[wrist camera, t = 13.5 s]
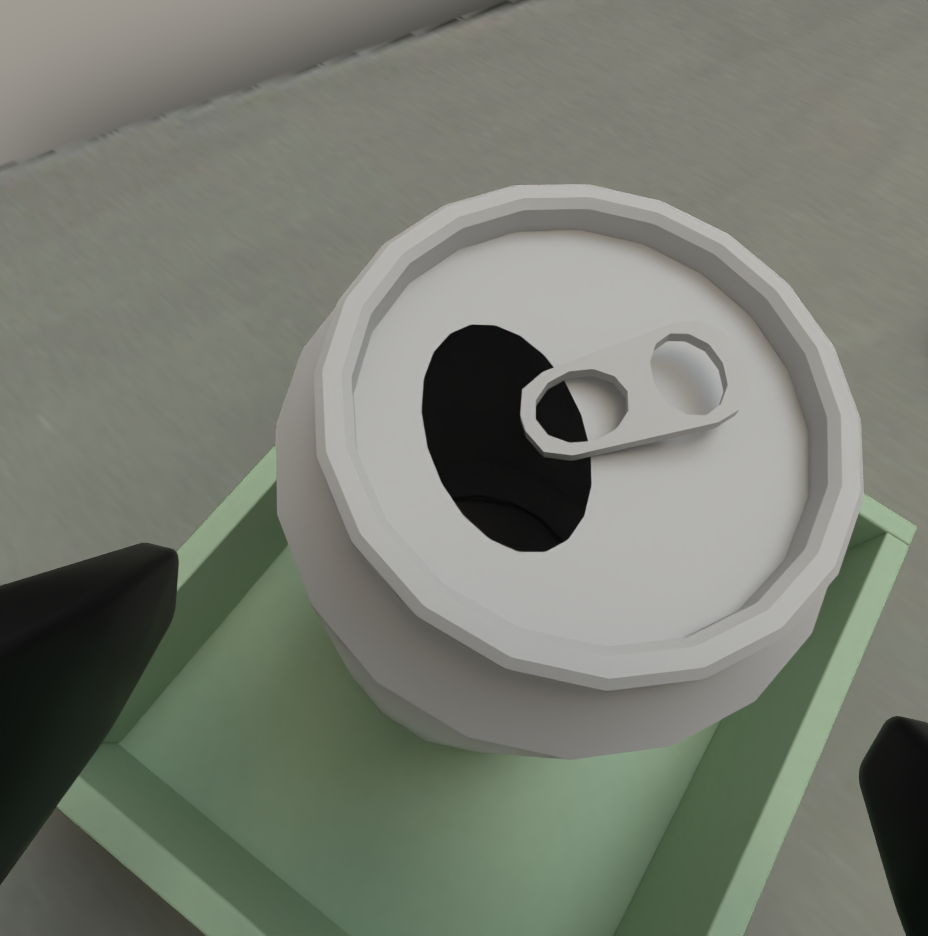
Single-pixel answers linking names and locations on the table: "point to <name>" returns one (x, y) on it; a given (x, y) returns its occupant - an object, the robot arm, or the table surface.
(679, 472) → the can
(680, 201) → the table surface
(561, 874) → the open box
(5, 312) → the table surface
